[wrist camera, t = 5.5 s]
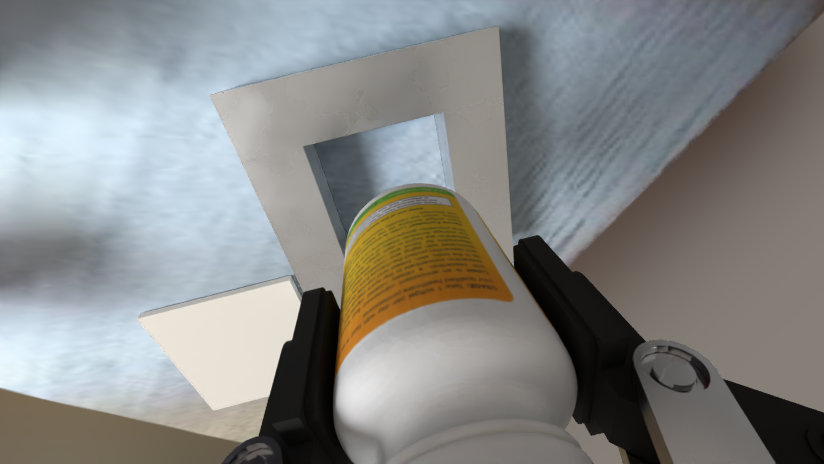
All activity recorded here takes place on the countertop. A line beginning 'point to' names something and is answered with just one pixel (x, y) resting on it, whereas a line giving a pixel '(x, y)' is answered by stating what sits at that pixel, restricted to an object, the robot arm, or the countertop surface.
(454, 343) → the supplement bottle
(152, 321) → the plastic mat
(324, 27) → the countertop surface
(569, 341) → the robot arm
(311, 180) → the concrete holder
